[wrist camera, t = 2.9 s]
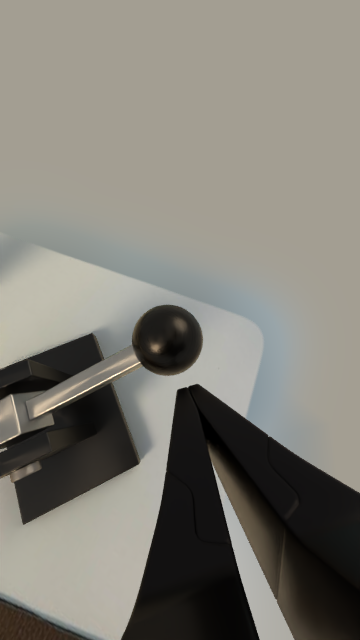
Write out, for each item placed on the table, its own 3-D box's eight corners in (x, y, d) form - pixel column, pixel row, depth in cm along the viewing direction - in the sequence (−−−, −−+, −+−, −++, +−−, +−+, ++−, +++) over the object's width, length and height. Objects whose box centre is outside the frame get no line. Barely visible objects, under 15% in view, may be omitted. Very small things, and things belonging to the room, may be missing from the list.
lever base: (95, 336, 24) (53, 290, 15) (140, 460, 20) (122, 504, 11) (-1, 374, 22) (-118, 349, 13) (31, 518, 18) (-100, 627, 9)
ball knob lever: (190, 303, 14) (174, 282, 11) (218, 357, 13) (210, 353, 10) (17, 396, 16) (-45, 404, 13) (29, 451, 15) (-34, 476, 12)
